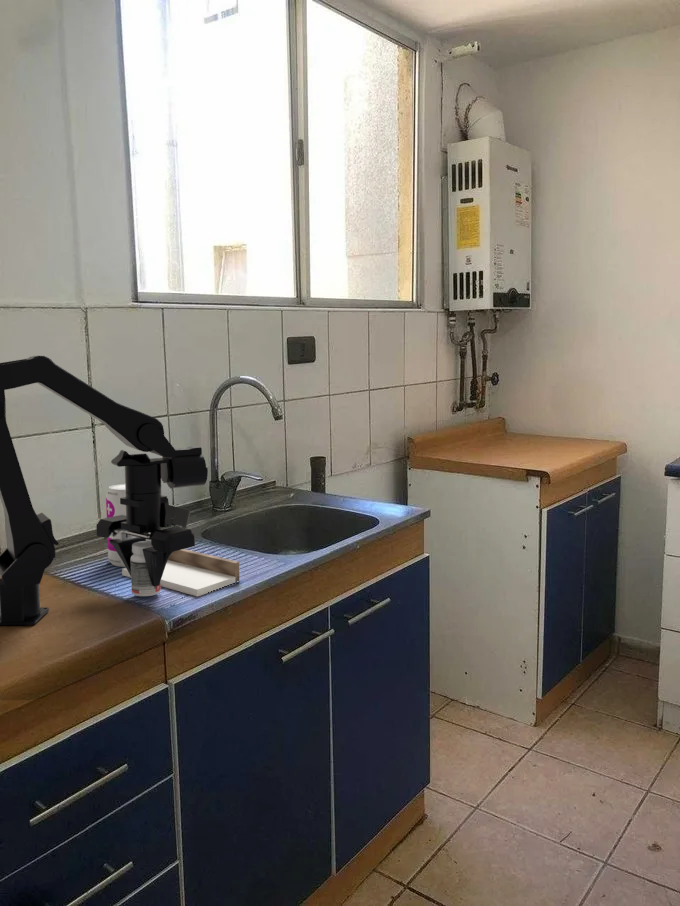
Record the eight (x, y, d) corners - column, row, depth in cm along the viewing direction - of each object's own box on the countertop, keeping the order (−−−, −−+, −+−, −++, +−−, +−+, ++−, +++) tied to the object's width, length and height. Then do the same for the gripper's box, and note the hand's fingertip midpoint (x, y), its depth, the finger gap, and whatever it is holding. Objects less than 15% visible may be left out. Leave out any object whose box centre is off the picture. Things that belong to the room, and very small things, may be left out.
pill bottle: (162, 595, 121) (161, 545, 119) (133, 598, 119) (131, 548, 118) (158, 586, 125) (157, 539, 124) (130, 589, 123) (128, 541, 122)
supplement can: (107, 569, 137) (104, 491, 135) (109, 557, 145) (106, 483, 143) (152, 566, 139) (149, 489, 137) (151, 555, 147) (149, 482, 145)
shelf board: (239, 582, 130) (239, 561, 129) (197, 596, 122) (197, 575, 121) (165, 563, 142) (164, 544, 141) (122, 575, 134) (121, 555, 133)
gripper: (219, 490, 121) (220, 581, 123) (146, 479, 132) (148, 563, 134) (166, 500, 112) (168, 598, 114) (92, 487, 123) (96, 577, 125)
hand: (146, 583), depth 122 cm, fingers closed on pill bottle, 5 cm apart
